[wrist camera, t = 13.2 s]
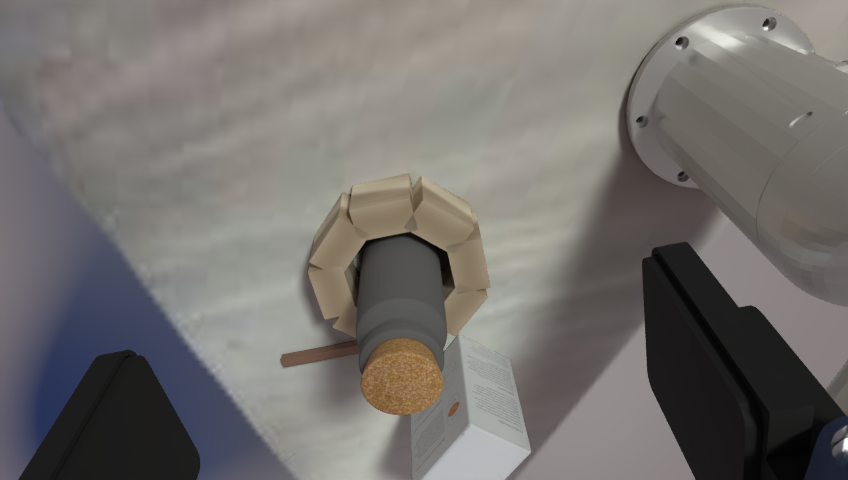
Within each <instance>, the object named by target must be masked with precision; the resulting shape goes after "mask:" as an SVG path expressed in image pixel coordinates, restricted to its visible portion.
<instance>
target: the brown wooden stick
mask: <svg viewBox="0 0 848 480" xmlns="http://www.w3.org/2000/svg"><path fill="white" fill-rule="evenodd" d="M357 353H360V349H359V347H358V345H357V341H352V342H347V343H341V344H336V345H331V346H325V347H320V348H315V349H310V350H304V351H299V352H294V353H288V354H283V355H282V358H281V362H282V364H283V366H284V367H288V366H293V365H299V364H304V363H309V362H315V361H320V360H325V359H331V358H336V357H341V356H347V355H352V354H357Z"/></svg>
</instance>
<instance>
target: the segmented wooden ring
mask: <svg viewBox="0 0 848 480" xmlns="http://www.w3.org/2000/svg"><path fill="white" fill-rule="evenodd" d="M405 232H412V233H414V234H415V235H417V236H419V237H421V238H423V239H424V240H426V241H428V242H430V243H432V244H434V245H435V246H437V247H439V248H441V249H443V250H445V251H446V252H447V253H448V257H449V261H450V262H449V263H448V265H447V266H446V267H445V268H444V270H443V271H442V272H441V277H442V285H443V294H444V303H445V312H446V323H447V332H448V333H450V334H452V335H454V336H456V335H457V334H458V333H459V331H460V330H461V329H462V328H463V327H464V325H465V324H466V323H467V322H468V321H469V319H470V318H471V317H472V316H473V315H474V313H475V312H476V311H477V310H478V309H479V307H480V306H481V305H482V304H483V303H484V302H485V300H486V299H487V298H488V296H487V291H486V288H490V282H489V276H488V271H487V266H486V261H485V256H484V251H483V245H482V240H481V235H480V231H479V226H478V222H477V217H476V213H475V212H474V213H471V211H470V206H469V203H467V202H466V201H464V200H462V199H461V198H459V197H457V196H455V195H454V194H452V193H450V192H449V191H447V190H445V189H443V188H442V187H440V186H438V185H437V184H435V183H433V182H431V181H430V180H428V179H426V178H425V177H423V176H421V177H420V178H419V180H418V181H417V183H416V184H415V186H414V187H412V183H411V179H410V175H409V174H406V175H401V176H396V177H391V178H386V179H382V180H377V181H372V182H367V183H362V184H358V185H353V187H352V194H351V196H349V195H347V194H346V193H344V192H343V193H342V194H341V196H340V197H339V199H338V200H337V202H336V204H335V205H334V207H333V208H332V210H331V211H330V213H329V214H328V216H327V218H326V219H325V221H324V222H323V224H322V225H321V227H320V228H319V230H318V232H317V233H316V235H315V239H314V243H313V247H312V252H311V256H310V260H309V263H310V266H309V270H308V275H309V278H310V281H311V283H312V286H313V289H314V292H315V294H316V297H317V300H318V303H319V305H320V308H321V311H322V314H323V316H324V319H330V318H334V319H333V325H332V328H335V329H337V330H339V331H341V332H343V333H345V334H347V335H349V336H351V337H353V338H356V317H357V306H358V295H359V284H360V278H358V275H357V271H356V268H355V265H354V262H353V259H354V257H355V256H356V254H357V253H358V251H359V250H360V249H361V247H362V246H363V244H364V243H365V241H366V240H371V239H376V238H381V237H386V236H390V235H395V234H400V233H405Z"/></svg>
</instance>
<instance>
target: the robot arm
mask: <svg viewBox="0 0 848 480" xmlns="http://www.w3.org/2000/svg"><path fill="white" fill-rule="evenodd" d="M765 20H766V23H765V24H764V25H763V22H764V21H765ZM678 38H680V42H679V43H677V44H675V43H676V41H677V39H678ZM640 116H641V119H640V120H638V121H636V120H637V118H638V117H640ZM627 128H628V133H629V137H630V141H631V143H632V145H633V147H634V149H635V151H636V153H637V154H638V156H639V157H640V158H641V160H642V161H643V162H644V164H645V165H646V166H647V167H648V168H649V169H650V170H651V171H652V172H653V173H654V174H656V175H658V176H659V177H661V178H662V179H664V180H665V181H667V182H670V183H672V184H675V185H677V186H681V187H687V188H694V189H701V190H702V191H703V192H704V193H705V194H706V195H707V196H708V197H709V198H710V199H711V200H712V201H713V202H714V203H715V205H716V206H717V207H718V208H719V209H720V210H721V211H722V212H723V213H724V214H725V215H726V216H727V217H728V218H729V219H730V220H731V221H732V222H733V223H734V224H735V225H736V227H737V228H738V229H739V230H740V231H741V232H742V233H743V234H744V235H745V236H746V237H747V238H748V239H749V240H750V241H751V242H752V243H753V244H754V245H755V246H756V247H757V248H758V250H759V251H760V252H761V253H762V254H763V255H764V256H765V257H766V258H767V259H768V260H769V261H770V262H771V263H772V264H773V265H774V266H775V267H776V268H777V269H778V270H779V271H780V272H781V273H782V274H783V275H784V276H785V277H786V278H787V279H788V280H789V281H790V282H792V283H793V284H794V285H795V286H797V287H798V288H800V289H801V290H803V291H805V292H806V293H808V294H810V295H812V296H814V297H816V298H819V299H821V300H824V301H826V302H829V303H832V304H836V305H839V306H845V307H848V60H846V61H843V62H841V63H837V64H835V63H834V62H833V61H830V60H828V59H826V58H823V57H821V56H819V55H817V54H816V53H815V50H814V47H813V45H812V43H811V42H810V40H809V38H808V36H807V35H806V33H805V32H804V31H803V30H802V29H801V28H800V27H799V26H798V25H797V24H796V23H795V22H794V21H792V20H791V19H789V18H787V17H786V16H784V15H782V14H781V13H778V12H776V11H773V10H770V9H768V8H764V7H759V6H754V5H727V6H723V7H718V8H714V9H710V10H707V11H705V12H702V13H700V14H698V15H695V16H693V17H691V18H689V19H688V20H686V21H685V22H683V23H681V24H680V25H678V26H677V27H675V28H674V29H673V30H671V31H670V32H669V33H668V34H667V35H666V36H664V37H663V38H662V39H661V40H660V41H659V42H658V43H657V44H656V46H655V47H654V48H653V49H652V50H651V52H650V53H649V54H648V55H647V56H646V58H645V60H644V61H643V63H642V65H641V66H640V68H639V70H638V71H637V73H636V76H635V78H634V81H633V83H632V86H631V89H630V92H629V97H628V102H627ZM680 172H681V173H680ZM679 173H680V174H679ZM642 272H643V293H644V313H645V331H646V332H645V334H646V354H647V372H648V378H649V382H650V385H651V388H652V391H653V393H654V395H655V397H656V399H657V401H658V403H659V405H660V407H661V409H662V411H663V413H664V415H665V418H666V419H667V422H668V424H669V426H670V428H671V430H672V432H673V434H674V436H675V438H676V440H677V442H678V444H679V446H680V448H681V450H682V452H683V454H684V457H685V459H686V461H687V463H688V465H689V467H690V469H691V471H692V473H693V475H694V477H695V479H696V480H848V360H847V361H846V363H845V364H844V365H843V367H842V368H841V369H840V371H839V372H838V373H837V375H836V376H835V377H834V379H833V380H832V381H831V383H830V384H829V386H828V387H827V388H826V389H824V388H823V387H822V385H821V384H820V383H819V382H818V381H817V379H816V378H815V377H814V376H813V375H812V373H811V372H810V371H809V370H808V368H807V367H806V366H805V365H804V363H803V362H802V361H801V360H800V359H799V357H798V356H797V355H796V354H795V353H794V351H793V350H792V349H791V348H790V347H789V346H788V344H787V343H786V342H785V340H784V339H783V338H782V337H781V336H780V334H779V333H778V332H777V331H776V330H775V328H774V327H773V326H772V325H771V324H770V322H769V321H768V320H767V319H766V317H765V316H764V315H763V314H762V313H761V312H760V311H759V310H758V309H757V308H756V307H754V306H751V305H750V306H745V307H738V306H737V305H736V303H735V302H734V301H733V300H732V298H731V297H730V296H729V294H728V293H727V292H726V291H725V289H724V288H723V287H722V285H721V284H720V283H719V282H718V280H717V279H716V278H715V276H714V275H713V274H712V273H711V271H710V270H709V269H708V267H707V266H706V265H705V264H704V262H703V261H702V260H701V259H700V257H699V256H698V255H697V253H696V252H695V251H694V250H693V248H692V247H691V246H690V245H689V244H688V243H687V242H682V243H677V244H671V245H666V246H661V247H656V248H654V249H653V250H652V257H647V258H644V259H643V261H642ZM199 469H200V458H199V454H198V451H197V449H196V447H195V446H194V444H193V442H192V440H191V438H190V437H189V435H188V433H187V431H186V429H185V428H184V426H183V424H182V422H181V420H180V419H179V417H178V415H177V413H176V411H175V410H174V408H173V406H172V404H171V403H170V401H169V399H168V397H167V395H166V394H165V392H164V390H163V388H162V386H161V385H160V383H159V381H158V379H157V377H156V376H155V374H154V372H153V370H152V368H151V367H150V365H149V363H148V361H147V360H146V359H145V357H143V356H140V355H139V356H137V354H136V353H135V352H133V351H131V350H125V351H119V352H114V353H109V354H104V355H100V356H98V357H96V359H95V360H94V361H93V363H92V364H91V366H90V367H89V369H88V370H87V372H86V374H85V375H84V377H83V378H82V380H81V382H80V383H79V385H78V386H77V388H76V389H75V391H74V393H73V394H72V396H71V397H70V399H69V401H68V402H67V404H66V405H65V407H64V408H63V410H62V412H61V413H60V415H59V416H58V418H57V419H56V421H55V423H54V425H53V426H52V428H51V429H50V431H49V432H48V434H47V435H46V437H45V439H44V440H43V442H42V443H41V445H40V446H39V448H38V450H37V451H36V453H35V454H34V456H33V458H32V459H31V461H30V462H29V464H28V465H27V467H26V469H25V470H24V472H23V473H22V475H21V476H20V478H19V480H196V479H197V476H198V473H199Z"/></svg>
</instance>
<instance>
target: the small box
mask: <svg viewBox="0 0 848 480" xmlns="http://www.w3.org/2000/svg"><path fill="white" fill-rule="evenodd" d="M441 374H442V377H443V388H442V392H441V394H440V396H439V397H438V399H437V400H436V401H435V402H434V403H433V404H432V405H431V406H430V407H428V408H426V409H425V410H423V411H420V412H418V413H414V414H410V415H411V461H412V480H505V479H506V478H507V477H508V476H509V475H510V474H511V473H512V472H513V471H514V470H515V469H516V468H517V467H518V466H519V465H520V464H521V463H522V461H523V460H524V459H525V458H526V457H527V456H528V455H530V453H531V447H530V443H529V439H528V435H527V431H526V426H525V422H524V418H523V413H522V409H521V405H520V401H519V396H518V392H517V388H516V383H515V379H514V375H513V371H512V366H511V362H510V360H509V359H507V358H505V357H503V356H501V355H499V354H497V353H495V352H493V351H491V350H489V349H487V348H485V347H483V346H481V345H479V344H477V343H475V342H473V341H471V340H469V339H467V338H465V337H463V336H461V335H458V336H457V337H456V338H455V339H454V341H453V342H452V343H451V345H450V346H449V347H448V348H447V349H446V351H445V352H444V368H443V371H442V373H441Z"/></svg>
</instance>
